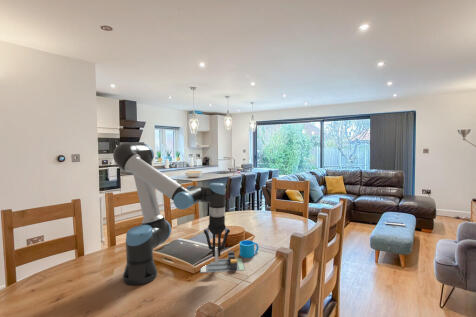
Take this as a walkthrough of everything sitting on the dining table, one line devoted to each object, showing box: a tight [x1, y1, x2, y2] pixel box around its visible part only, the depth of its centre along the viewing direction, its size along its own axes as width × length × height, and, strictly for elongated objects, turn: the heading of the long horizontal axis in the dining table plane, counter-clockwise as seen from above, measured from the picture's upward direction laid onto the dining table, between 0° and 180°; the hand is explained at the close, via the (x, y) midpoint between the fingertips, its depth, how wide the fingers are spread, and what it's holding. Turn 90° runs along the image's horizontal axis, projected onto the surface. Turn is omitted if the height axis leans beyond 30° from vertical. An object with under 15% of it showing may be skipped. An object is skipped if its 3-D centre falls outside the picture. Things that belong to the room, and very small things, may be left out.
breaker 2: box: [229, 254, 236, 265], centre depth 135 cm, size 3×2×4 cm
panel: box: [199, 257, 246, 274], centre depth 134 cm, size 22×14×2 cm, turn 96°
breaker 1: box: [227, 250, 235, 260], centre depth 139 cm, size 3×2×4 cm
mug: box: [239, 239, 260, 259], centre depth 148 cm, size 12×8×8 cm
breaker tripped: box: [230, 259, 237, 270], centre depth 130 cm, size 3×2×4 cm
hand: (216, 262), depth 129 cm, fingers closed
